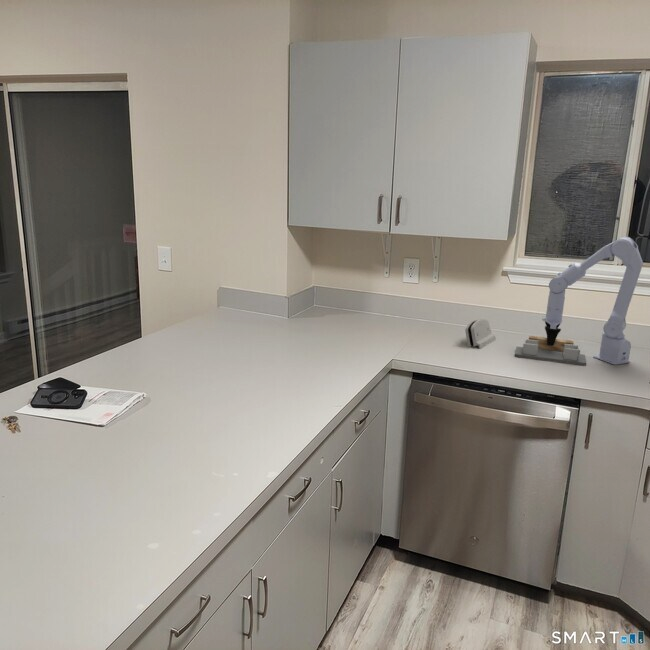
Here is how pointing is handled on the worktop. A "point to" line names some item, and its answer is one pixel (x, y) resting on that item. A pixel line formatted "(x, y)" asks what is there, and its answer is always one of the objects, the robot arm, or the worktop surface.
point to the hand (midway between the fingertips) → (550, 342)
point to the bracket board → (551, 353)
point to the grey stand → (479, 333)
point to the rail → (543, 345)
